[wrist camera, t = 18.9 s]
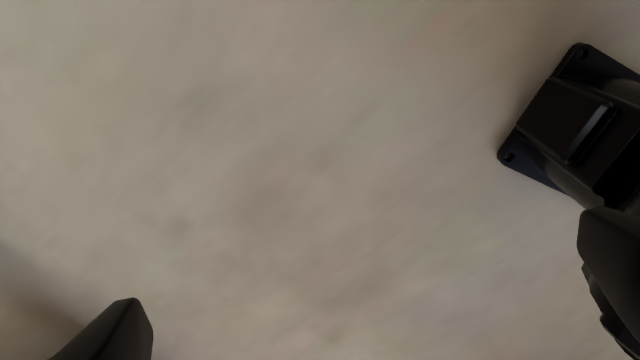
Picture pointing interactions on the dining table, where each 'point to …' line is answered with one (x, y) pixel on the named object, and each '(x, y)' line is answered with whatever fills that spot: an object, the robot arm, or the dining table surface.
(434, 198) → the dining table surface
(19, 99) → the dining table surface
